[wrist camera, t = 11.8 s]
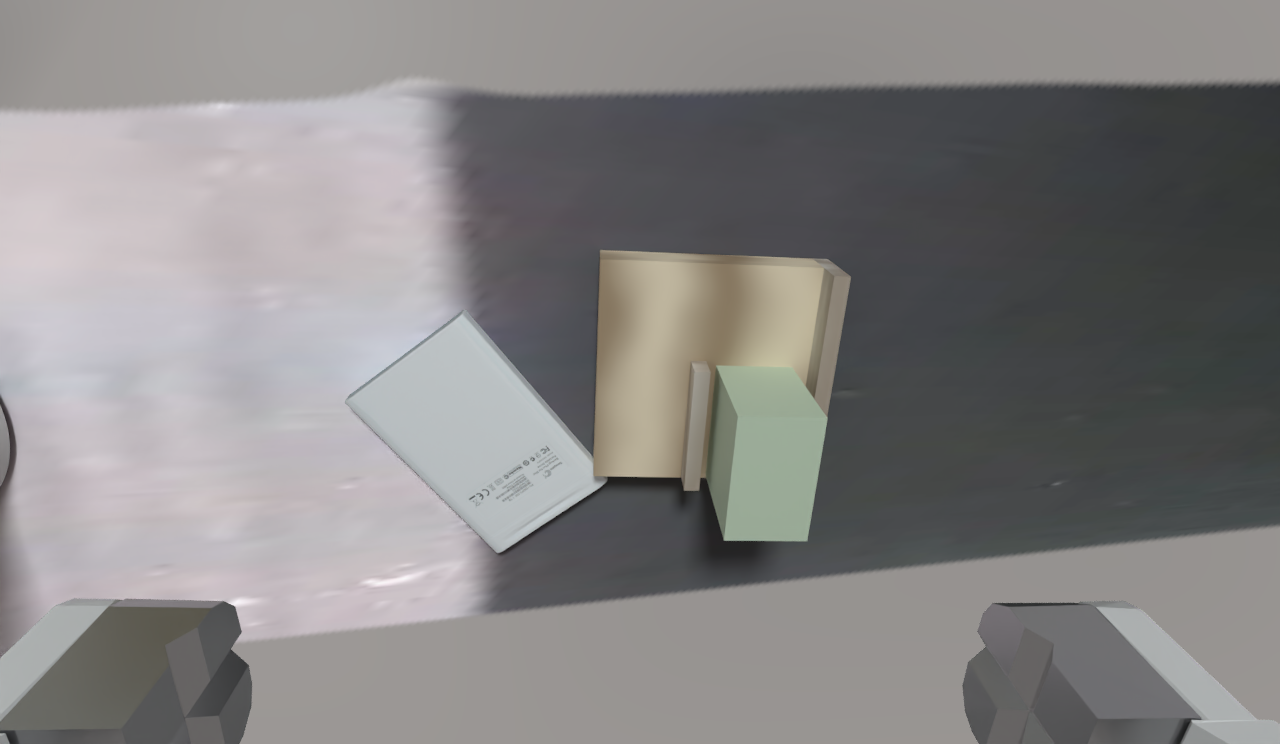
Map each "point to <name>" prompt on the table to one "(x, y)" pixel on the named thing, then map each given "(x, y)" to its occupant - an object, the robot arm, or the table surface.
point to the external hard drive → (477, 433)
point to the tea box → (763, 453)
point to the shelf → (700, 347)
